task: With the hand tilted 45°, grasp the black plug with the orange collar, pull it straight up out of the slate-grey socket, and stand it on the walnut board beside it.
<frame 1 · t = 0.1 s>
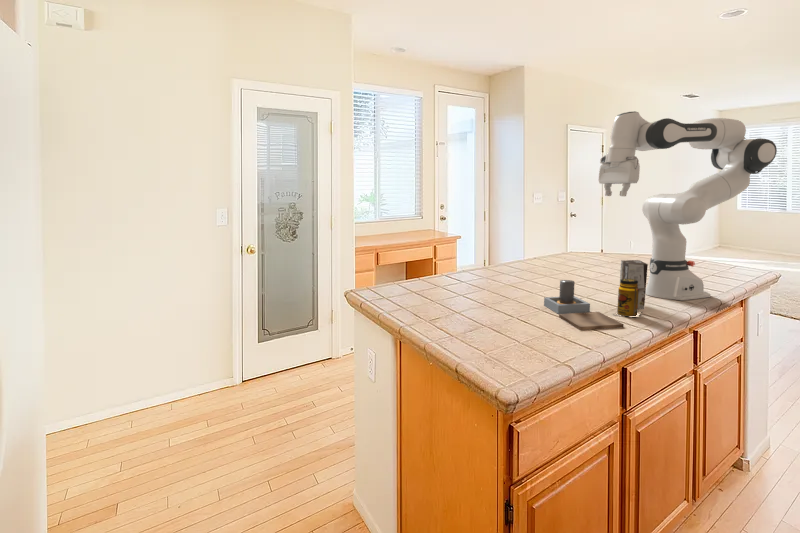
hand: (615, 196, 164), 39 cm above the worktop, tool pointing down, fingers open, 8 cm apart
condiment: (628, 314, 150), on the worktop
plug: (566, 295, 157), in the socket
coffee box: (631, 306, 159), on the worktop
socket: (566, 308, 158), on the worktop
walnut board: (589, 321, 142), on the worktop
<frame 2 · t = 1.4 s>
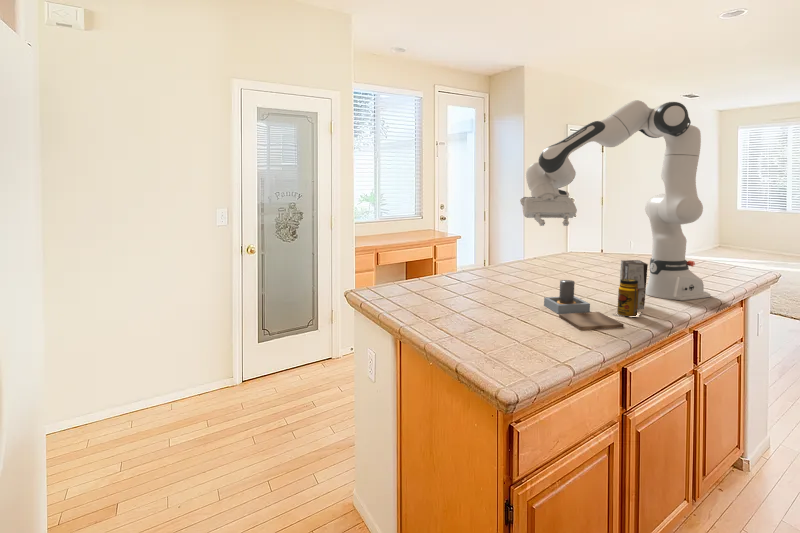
hand: (554, 224, 164), 29 cm above the worktop, tool tilted 45°, fingers open, 8 cm apart
nothing on the worktop moved.
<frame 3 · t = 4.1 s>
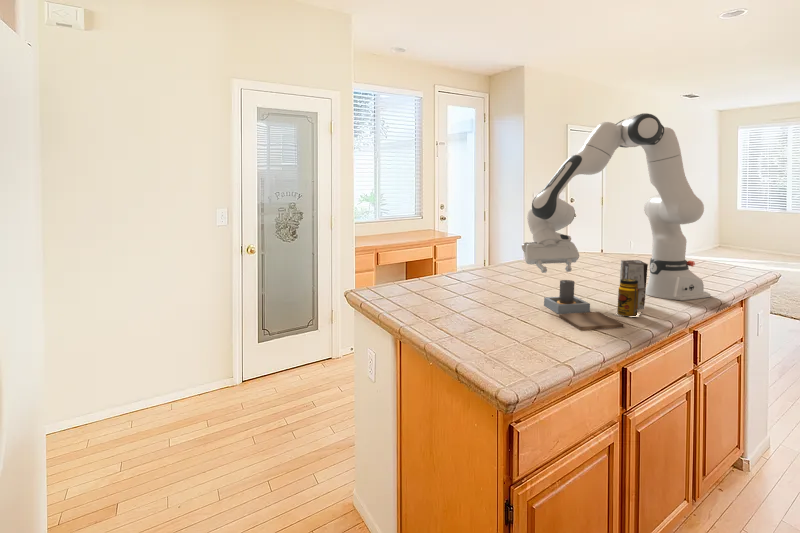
hand: (556, 271, 163), 12 cm above the worktop, tool tilted 45°, fingers open, 8 cm apart
nothing on the worktop moved.
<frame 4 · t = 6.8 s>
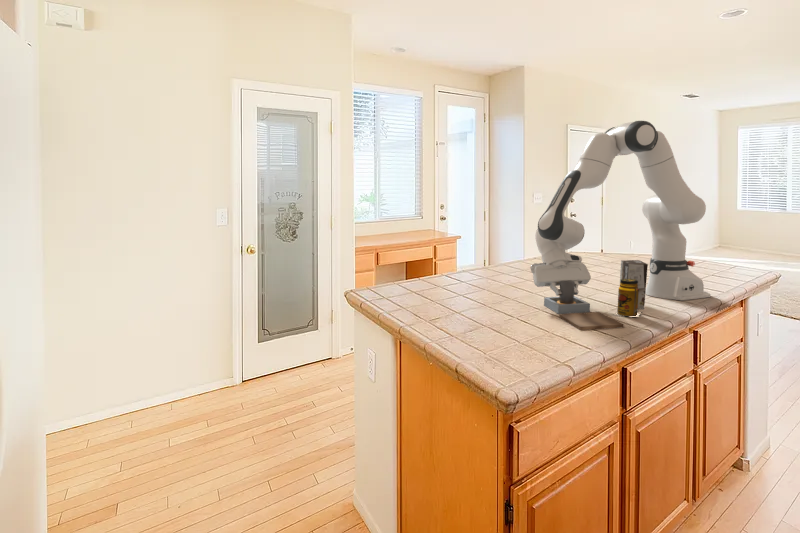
hand: (567, 294, 156), 5 cm above the worktop, tool tilted 45°, fingers closed on plug, 5 cm apart
plug: (566, 295, 157), in the socket, touching gripper
everything else where it was.
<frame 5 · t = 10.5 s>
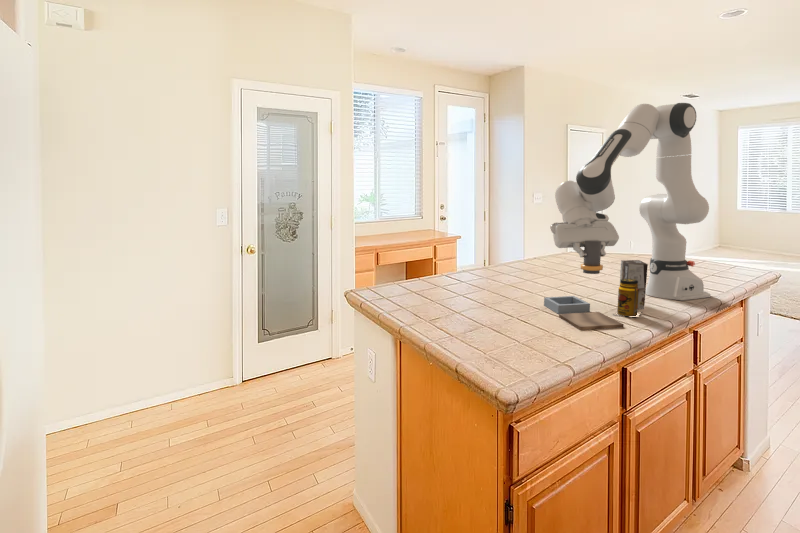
hand: (593, 255, 138), 22 cm above the worktop, tool tilted 45°, fingers closed on plug, 5 cm apart
plug: (592, 256, 139), point 21 cm above the worktop, touching gripper
everything else where it was.
when the fingers open (8 cm above the worktop, at t = 14.0 s): plug drops 1 cm, resting on walnut board.
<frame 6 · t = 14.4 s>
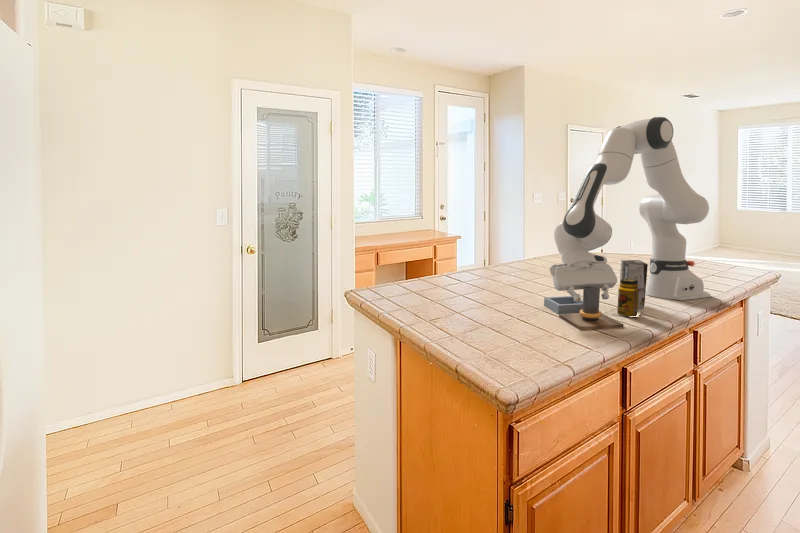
hand: (592, 299, 140), 8 cm above the worktop, tool tilted 45°, fingers open, 8 cm apart
plug: (590, 303, 141), on the walnut board, point 6 cm above the worktop
everything else where it was.
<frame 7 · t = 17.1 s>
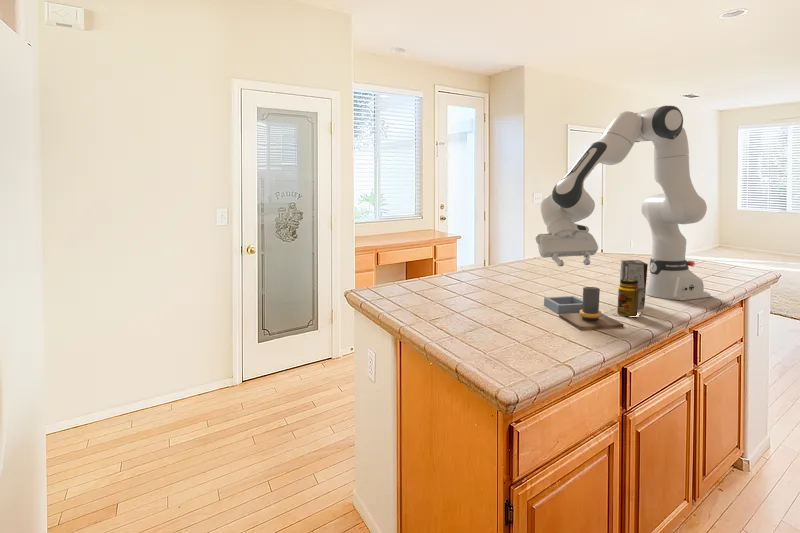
hand: (574, 264, 150), 17 cm above the worktop, tool tilted 45°, fingers open, 8 cm apart
nothing on the worktop moved.
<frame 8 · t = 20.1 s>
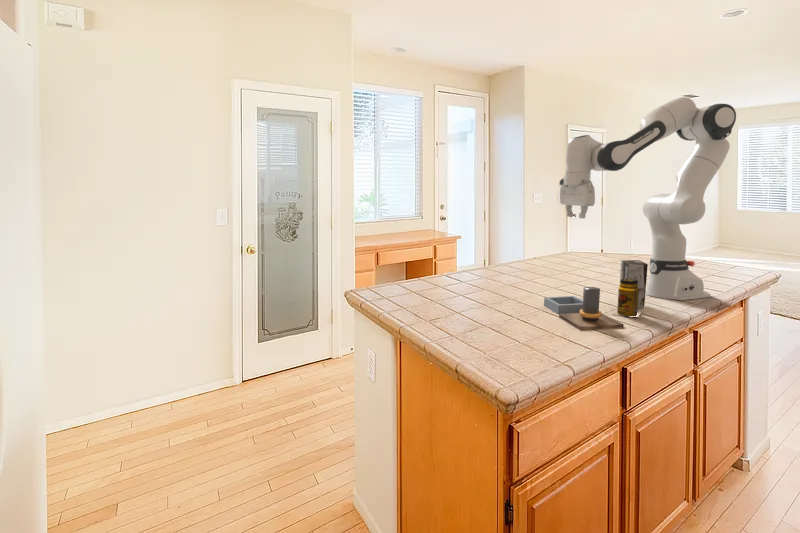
hand: (575, 217, 168), 31 cm above the worktop, tool pointing down, fingers open, 8 cm apart
nothing on the worktop moved.
at the end: plug inside the target area on the walnut board (0.1 cm from its centre), point 6.0 cm above the walnut board's base; plug tilted 1°; the gripper is holding nothing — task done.
